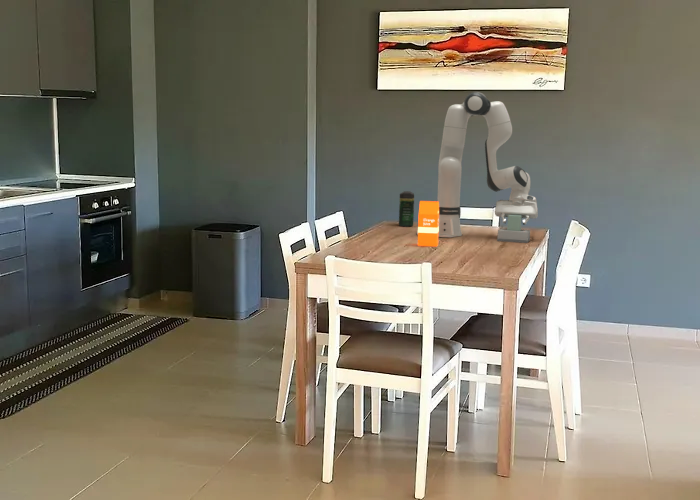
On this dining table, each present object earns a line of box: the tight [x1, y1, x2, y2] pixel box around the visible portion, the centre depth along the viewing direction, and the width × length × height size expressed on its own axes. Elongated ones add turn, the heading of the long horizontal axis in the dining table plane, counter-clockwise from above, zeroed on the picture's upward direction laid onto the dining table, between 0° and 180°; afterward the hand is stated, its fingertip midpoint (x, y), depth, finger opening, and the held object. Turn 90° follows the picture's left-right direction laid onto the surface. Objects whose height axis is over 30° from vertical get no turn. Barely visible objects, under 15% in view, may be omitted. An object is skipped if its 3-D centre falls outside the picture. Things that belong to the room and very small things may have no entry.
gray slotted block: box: [496, 227, 531, 244], centre depth 368 cm, size 14×10×5 cm
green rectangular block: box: [506, 215, 523, 231], centre depth 367 cm, size 4×6×11 cm, turn 69°
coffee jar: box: [398, 190, 415, 228], centre depth 413 cm, size 10×8×19 cm
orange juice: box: [417, 200, 440, 247], centre depth 351 cm, size 8×9×20 cm
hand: (514, 223), depth 366 cm, fingers open, 8 cm apart
